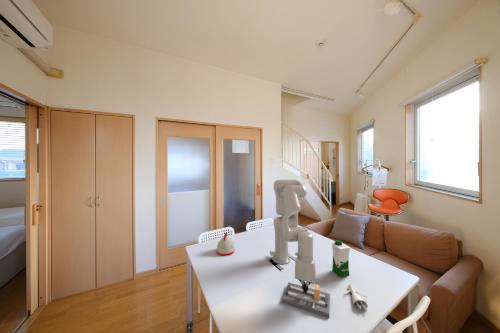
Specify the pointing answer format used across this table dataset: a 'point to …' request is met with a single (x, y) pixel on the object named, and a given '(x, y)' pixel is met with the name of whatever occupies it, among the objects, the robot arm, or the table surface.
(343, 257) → the milk carton
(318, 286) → the fader
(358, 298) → the woman figurine
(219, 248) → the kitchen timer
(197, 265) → the table surface
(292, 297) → the console
